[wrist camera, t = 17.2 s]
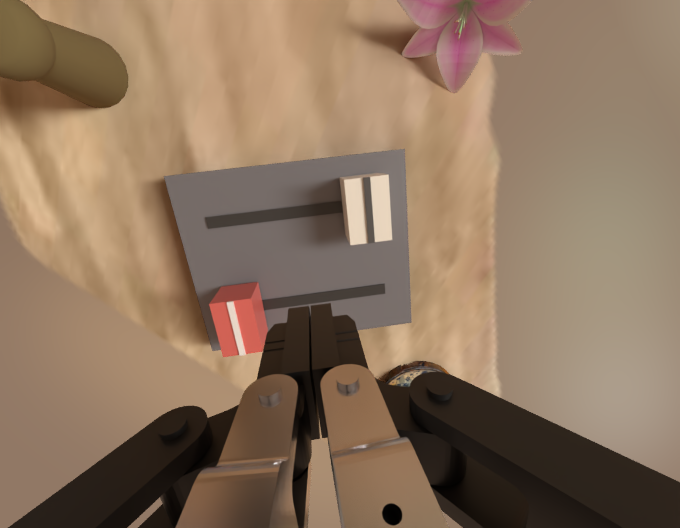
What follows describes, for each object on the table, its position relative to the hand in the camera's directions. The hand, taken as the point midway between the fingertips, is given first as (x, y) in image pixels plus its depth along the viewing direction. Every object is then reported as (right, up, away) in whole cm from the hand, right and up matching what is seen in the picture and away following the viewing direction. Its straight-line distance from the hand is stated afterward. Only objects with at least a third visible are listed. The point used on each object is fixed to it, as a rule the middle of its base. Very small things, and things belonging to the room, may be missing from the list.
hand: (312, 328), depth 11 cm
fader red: (-10, -3, +24) cm, 26 cm away
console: (-4, +4, +26) cm, 27 cm away
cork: (-23, +21, +19) cm, 36 cm away
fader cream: (+3, +9, +22) cm, 23 cm away
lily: (+11, +25, +21) cm, 35 cm away
